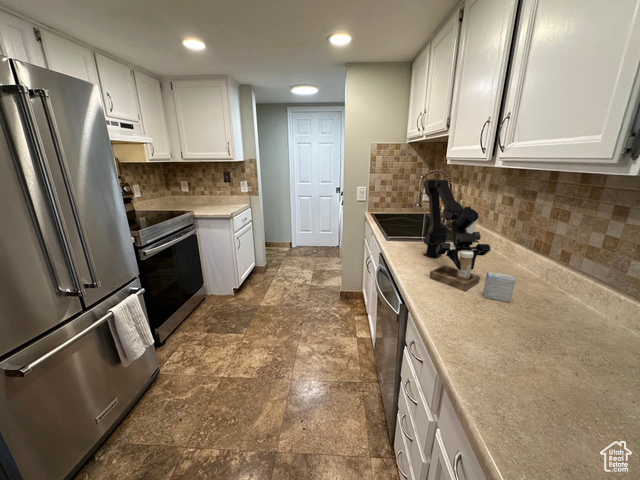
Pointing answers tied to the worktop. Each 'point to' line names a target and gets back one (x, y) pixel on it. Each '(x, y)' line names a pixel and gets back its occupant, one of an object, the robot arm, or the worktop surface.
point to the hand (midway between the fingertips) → (466, 269)
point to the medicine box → (499, 286)
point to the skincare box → (471, 228)
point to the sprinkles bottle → (465, 265)
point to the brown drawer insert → (453, 278)
